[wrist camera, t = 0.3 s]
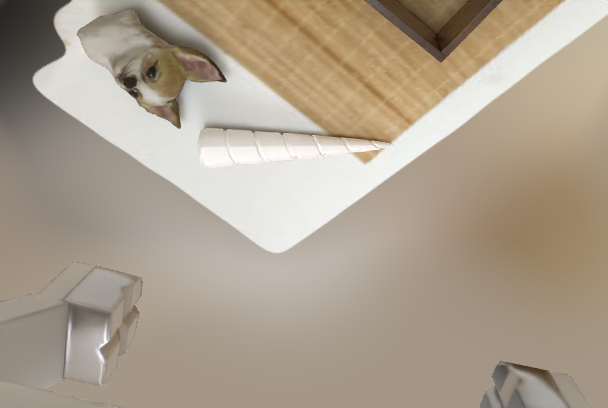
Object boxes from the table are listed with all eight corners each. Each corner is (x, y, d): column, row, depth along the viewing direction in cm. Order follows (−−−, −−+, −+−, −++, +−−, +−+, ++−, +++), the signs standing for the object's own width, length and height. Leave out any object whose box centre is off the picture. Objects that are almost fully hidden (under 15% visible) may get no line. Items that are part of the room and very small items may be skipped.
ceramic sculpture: (97, 1, 51) (221, 103, 57) (126, -29, 57) (235, 66, 64) (45, 72, 56) (163, 159, 62) (78, 37, 63) (182, 118, 69)
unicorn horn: (389, 168, 69) (389, 190, 65) (207, 152, 71) (196, 173, 67) (393, 135, 66) (394, 157, 62) (203, 120, 68) (193, 140, 64)
